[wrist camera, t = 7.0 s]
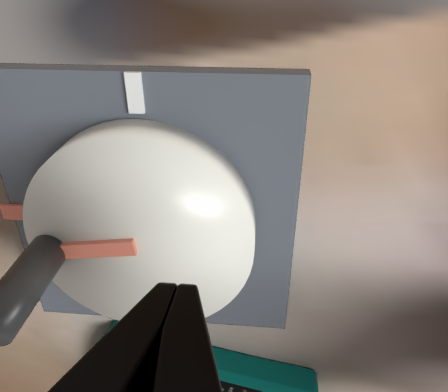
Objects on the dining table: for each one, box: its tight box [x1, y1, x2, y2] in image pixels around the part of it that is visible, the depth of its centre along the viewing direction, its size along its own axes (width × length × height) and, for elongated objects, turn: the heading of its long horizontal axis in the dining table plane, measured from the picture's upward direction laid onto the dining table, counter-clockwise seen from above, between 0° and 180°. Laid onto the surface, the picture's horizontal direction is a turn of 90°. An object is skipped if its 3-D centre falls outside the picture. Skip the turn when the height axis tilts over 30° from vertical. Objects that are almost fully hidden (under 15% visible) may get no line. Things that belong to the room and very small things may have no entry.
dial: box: [0, 119, 256, 346], centre depth 18 cm, size 11×11×7 cm
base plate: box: [0, 63, 311, 329], centre depth 22 cm, size 16×15×1 cm
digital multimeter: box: [105, 320, 318, 392], centre depth 29 cm, size 7×15×3 cm, turn 76°
